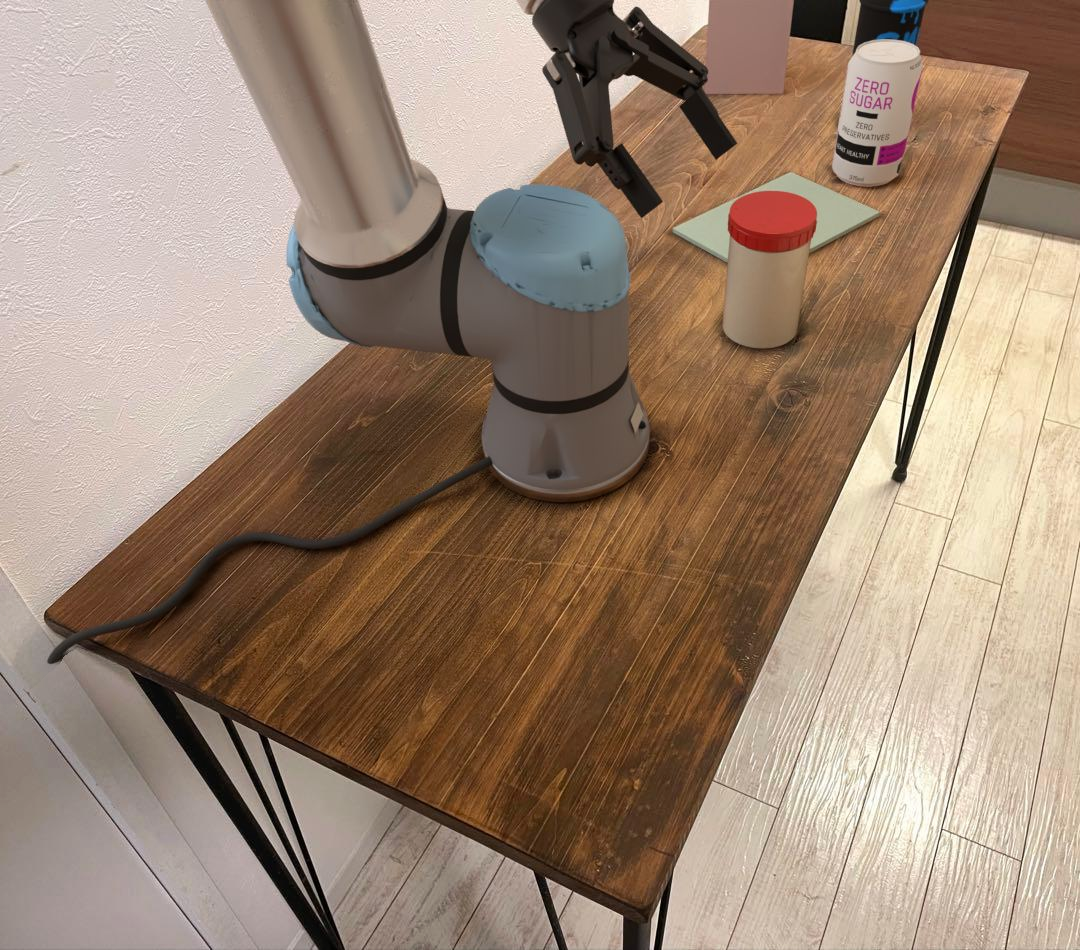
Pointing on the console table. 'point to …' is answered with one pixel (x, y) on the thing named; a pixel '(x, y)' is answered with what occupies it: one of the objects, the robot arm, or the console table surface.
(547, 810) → the console table surface
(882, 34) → the aerosol can
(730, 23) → the greeting card
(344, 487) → the console table surface
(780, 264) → the jar
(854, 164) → the white soda can
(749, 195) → the lid
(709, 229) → the mat
